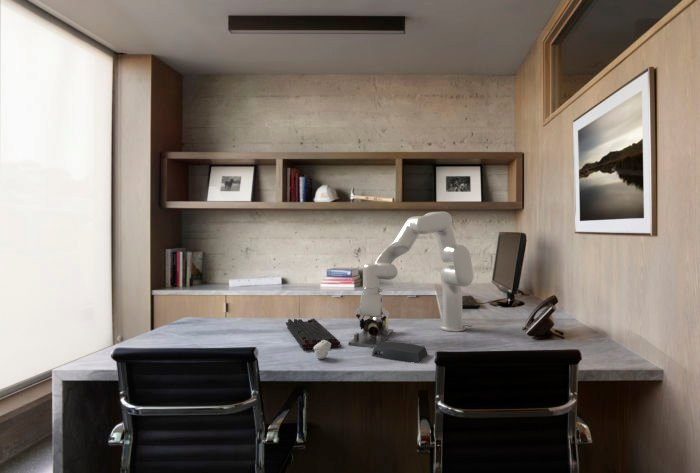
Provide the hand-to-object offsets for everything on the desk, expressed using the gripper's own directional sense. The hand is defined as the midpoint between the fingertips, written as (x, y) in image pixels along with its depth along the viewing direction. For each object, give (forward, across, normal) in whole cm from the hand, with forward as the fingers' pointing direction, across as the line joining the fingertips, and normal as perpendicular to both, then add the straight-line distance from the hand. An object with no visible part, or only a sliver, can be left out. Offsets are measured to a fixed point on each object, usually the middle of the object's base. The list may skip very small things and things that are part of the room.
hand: (371, 329), depth 181 cm
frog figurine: (+5, +10, +33) cm, 35 cm away
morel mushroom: (+1, -1, +2) cm, 2 cm away
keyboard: (+5, +28, +6) cm, 29 cm away
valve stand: (+4, 0, -1) cm, 4 cm away
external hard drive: (+5, -18, +20) cm, 27 cm away
